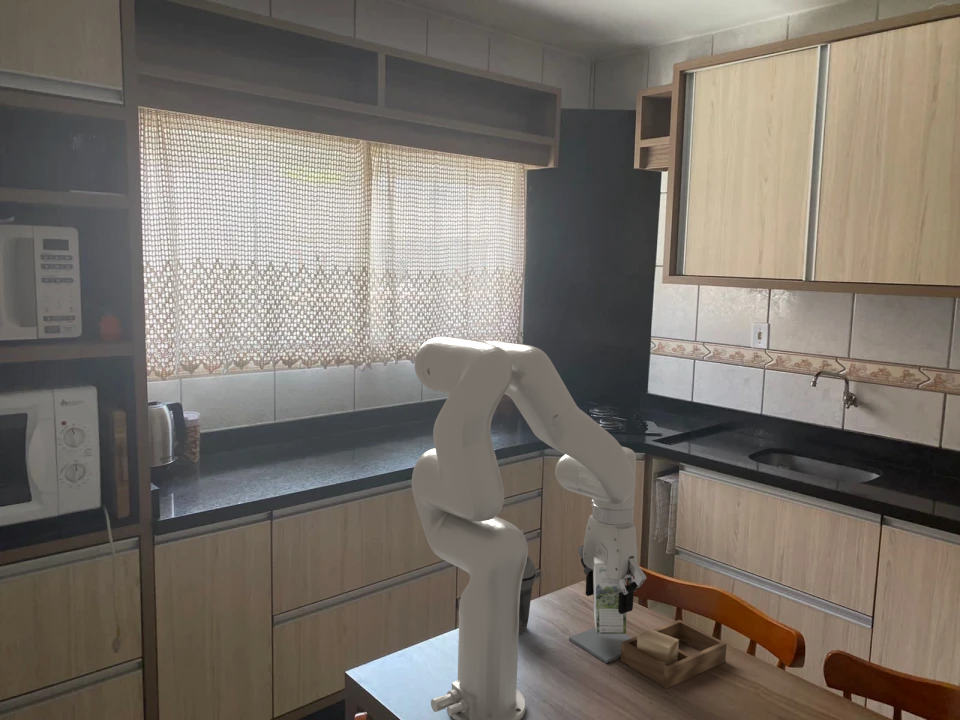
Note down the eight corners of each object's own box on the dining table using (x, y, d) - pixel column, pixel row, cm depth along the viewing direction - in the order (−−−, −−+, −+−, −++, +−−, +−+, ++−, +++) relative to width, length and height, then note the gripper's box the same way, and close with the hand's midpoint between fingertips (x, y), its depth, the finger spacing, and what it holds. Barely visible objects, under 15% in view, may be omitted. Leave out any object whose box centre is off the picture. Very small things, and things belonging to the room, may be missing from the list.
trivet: (606, 663, 134) (606, 660, 134) (568, 639, 142) (569, 637, 142) (644, 648, 140) (644, 645, 140) (606, 626, 148) (606, 623, 148)
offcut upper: (667, 664, 129) (668, 648, 128) (636, 652, 133) (637, 636, 132) (677, 655, 132) (678, 639, 132) (647, 643, 136) (648, 628, 135)
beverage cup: (489, 627, 146) (491, 530, 143) (515, 616, 151) (518, 521, 148) (515, 642, 141) (518, 541, 138) (541, 630, 145) (545, 532, 143)
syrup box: (623, 618, 143) (622, 548, 141) (627, 635, 138) (626, 562, 135) (593, 618, 144) (592, 548, 141) (596, 635, 138) (594, 562, 136)
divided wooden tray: (666, 688, 126) (667, 669, 126) (620, 660, 135) (621, 642, 135) (725, 661, 136) (726, 643, 135) (678, 636, 144) (679, 619, 144)
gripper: (566, 503, 142) (562, 590, 145) (633, 531, 128) (628, 627, 131) (594, 497, 147) (590, 581, 149) (663, 523, 133) (657, 616, 135)
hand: (608, 602), depth 140 cm, fingers closed on syrup box, 8 cm apart
